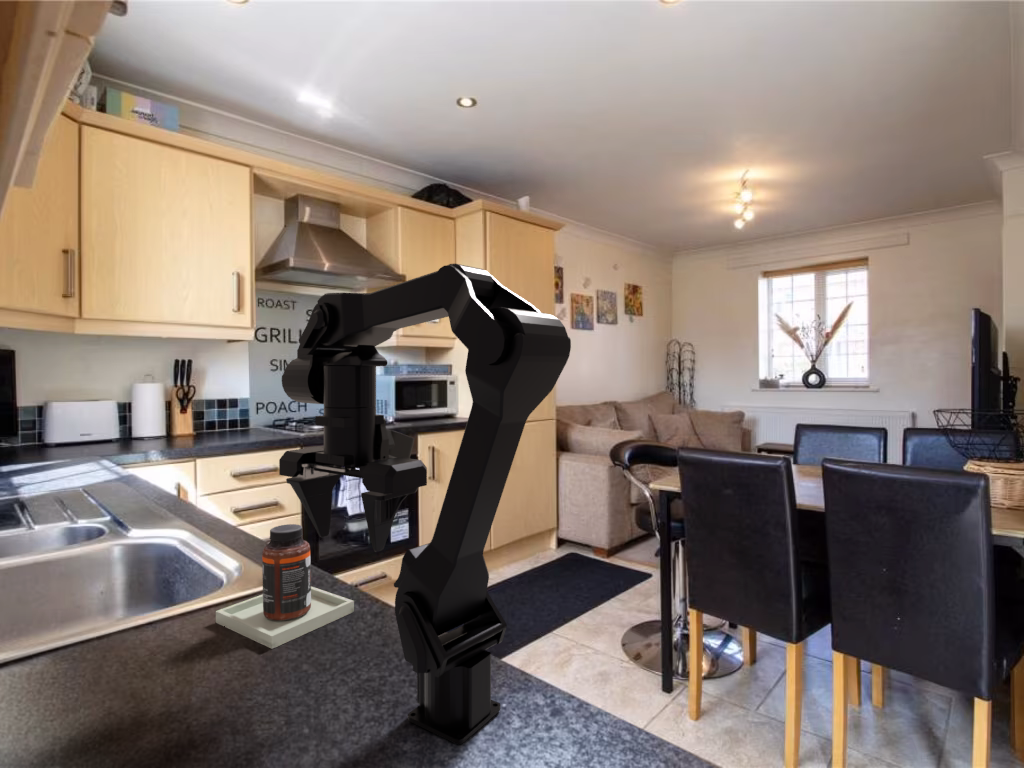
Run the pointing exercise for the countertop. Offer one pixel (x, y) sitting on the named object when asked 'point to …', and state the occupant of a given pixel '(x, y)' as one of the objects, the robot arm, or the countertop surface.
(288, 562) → the supplement bottle
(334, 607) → the tray
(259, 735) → the countertop surface
